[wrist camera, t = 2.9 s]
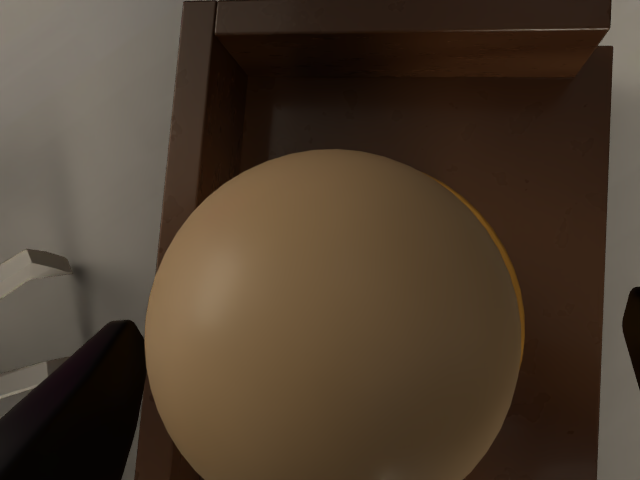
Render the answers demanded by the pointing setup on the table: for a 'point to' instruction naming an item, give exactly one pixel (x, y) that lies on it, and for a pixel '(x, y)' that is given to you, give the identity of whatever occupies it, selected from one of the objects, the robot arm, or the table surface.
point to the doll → (334, 325)
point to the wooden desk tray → (426, 163)
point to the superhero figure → (7, 280)
